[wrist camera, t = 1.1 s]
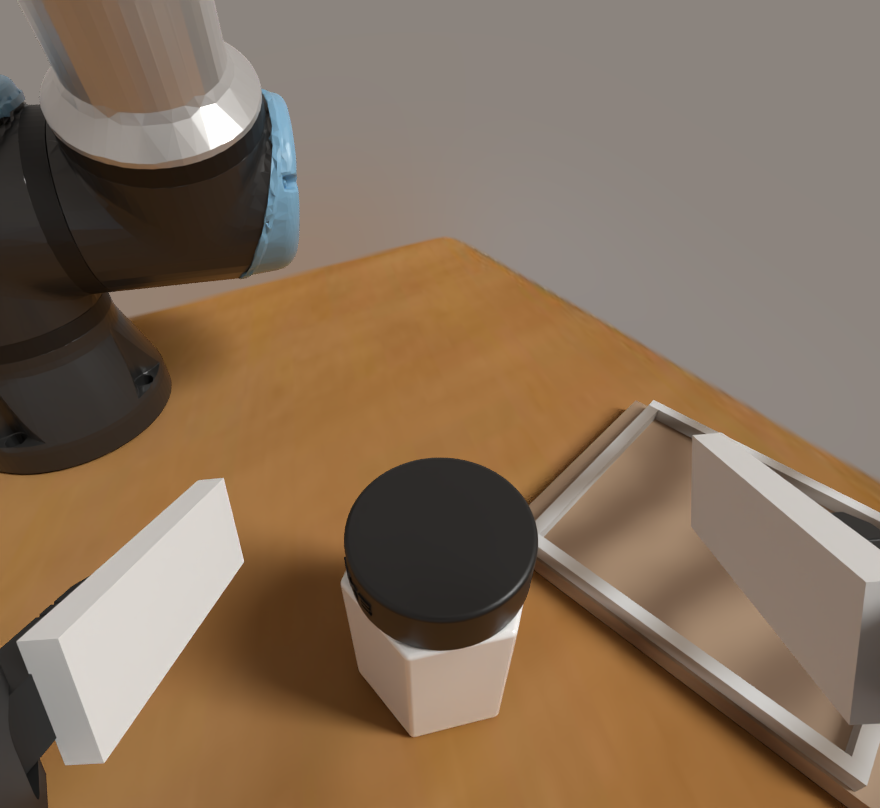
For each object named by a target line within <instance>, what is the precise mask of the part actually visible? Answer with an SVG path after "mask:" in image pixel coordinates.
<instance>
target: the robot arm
mask: <svg viewBox="0 0 880 808" xmlns="http://www.w3.org/2000/svg"><path fill="white" fill-rule="evenodd" d="M17 2H18V4H19V6H20V7H21V10H22V12H23V13H24V15H25V17H26V19H27V21H28V23H29V25H30V27H31V28H32V30H33V32H34V34H35V36H36V38H37V40H38V42H39V44H40V46H41V47H42V49H43V51H44V53H45V55H46V57H47V59H48V61H49V62H50V65H51V66H50V67H49V69H48V71H47V73H46V74H45V76H44V78H43V81H42V84H41V89H40V96H39V98H40V105H28V104H26V103H25V102H24V100H25V97H24V95H23V92H22V91H21V90H19V89H18V88H17V87H16V85H15V84H14V83H13V81H12V80H11V79H9V78H8V77H6V76H4V75H0V471H1V472H7V473H17V474H32V473H43V472H50V471H56V470H61V469H65V468H69V467H73V466H76V465H79V464H82V463H85V462H88V461H91V460H93V459H96V458H98V457H101V456H103V455H105V454H107V453H109V452H111V451H113V450H115V449H117V448H119V447H120V446H122V445H124V444H125V443H127V442H129V441H130V440H132V439H133V438H135V437H136V436H137V435H139V434H140V433H141V432H142V431H144V430H145V429H146V428H147V427H148V426H149V425H150V424H151V423H152V422H153V421H154V420H155V419H156V418H157V417H158V416H159V414H160V413H161V412H162V410H163V409H164V407H165V405H166V403H167V401H168V399H169V396H170V393H171V378H170V375H169V373H168V370H167V368H166V366H165V363H164V361H163V358H162V356H161V355H160V353H159V352H158V350H157V349H156V348H155V347H154V345H153V344H152V343H151V342H150V341H149V340H148V339H147V338H146V337H145V336H144V335H143V334H142V333H141V332H140V331H139V330H138V329H137V328H136V327H135V325H134V324H133V323H132V322H131V321H130V320H129V319H128V318H127V317H126V316H125V315H124V314H123V313H122V312H121V311H120V310H119V309H118V308H117V307H116V306H115V304H114V303H113V301H112V299H111V297H110V295H109V293H108V292H115V291H123V290H133V289H142V288H152V287H161V286H170V285H180V284H189V283H198V282H208V281H216V280H226V279H235V278H239V279H244V278H247V277H249V276H251V275H253V274H258V273H264V272H270V271H275V270H279V269H282V268H284V267H286V266H287V265H289V264H290V263H291V261H292V260H293V258H294V257H295V255H296V252H297V248H298V241H299V193H298V187H297V184H296V180H297V174H296V154H295V146H294V139H293V132H292V126H291V121H290V117H289V113H288V108H287V106H286V103H285V101H284V100H283V98H282V97H281V96H280V95H278V94H276V93H271V92H268V91H266V90H263V89H261V86H260V82H259V78H258V76H257V74H256V72H255V70H254V68H253V67H252V65H251V63H250V62H249V61H248V60H247V59H246V58H245V57H244V55H243V54H241V53H240V52H239V51H238V50H237V49H235V48H234V47H233V46H231V45H229V44H228V43H226V42H225V41H223V37H222V32H221V28H220V24H219V19H218V15H217V11H216V7H215V2H214V0H17ZM691 527H692V528H693V530H694V531H695V532H696V533H697V535H698V536H699V537H700V538H701V540H702V541H703V542H704V543H705V545H706V546H707V547H708V548H709V550H710V551H711V552H712V554H713V555H714V556H715V557H716V559H717V560H718V561H719V562H720V564H721V565H722V566H723V567H724V569H725V570H726V571H727V572H728V574H729V575H730V576H731V577H732V579H733V580H734V581H735V582H736V584H737V585H738V586H739V587H740V589H741V590H742V591H743V592H744V594H745V595H746V596H747V597H748V599H749V600H750V601H751V602H752V604H753V605H754V606H755V607H756V609H757V610H758V611H759V612H760V614H761V615H762V616H763V617H764V619H765V620H766V621H767V623H768V624H769V625H770V626H771V628H772V629H773V630H774V631H775V633H776V634H777V635H778V636H779V638H780V639H781V640H782V641H783V643H784V644H785V645H786V646H787V648H788V649H789V650H790V651H791V653H792V654H793V655H794V656H795V658H796V659H797V660H798V661H799V663H800V664H801V665H802V666H803V668H804V669H805V670H806V671H807V673H808V674H809V675H810V676H811V678H812V679H813V680H814V681H815V683H816V684H817V685H818V686H819V688H820V689H821V690H822V692H823V693H824V694H825V695H826V697H827V698H828V699H829V700H830V702H831V703H832V704H833V705H834V707H835V708H836V709H837V710H838V712H839V713H840V714H841V715H842V717H843V718H844V719H845V720H846V722H847V723H848V724H849V725H862V724H880V529H879V528H877V527H876V526H874V525H873V524H871V523H869V522H867V521H864V520H862V519H859V518H857V517H855V516H852V515H850V514H847V513H845V512H834V513H830V512H828V511H827V510H826V509H824V508H823V507H822V506H820V505H819V504H818V503H816V502H815V501H814V500H812V499H811V498H809V497H808V496H807V495H805V494H804V493H803V492H801V491H800V490H799V489H797V488H796V487H795V486H793V485H792V484H790V483H789V482H788V481H786V480H785V479H784V478H782V477H781V476H780V475H778V474H777V473H776V472H774V471H773V470H772V469H770V468H769V467H767V466H766V465H765V464H763V463H762V462H761V461H759V460H758V459H757V458H755V457H754V456H753V455H751V454H750V453H748V452H747V451H746V450H744V449H743V448H742V447H740V446H739V445H738V444H736V443H735V442H734V441H732V440H731V439H730V438H728V437H727V436H725V435H724V434H723V433H711V434H700V435H692V487H691ZM243 563H244V559H243V555H242V551H241V547H240V543H239V539H238V535H237V530H236V526H235V522H234V518H233V514H232V510H231V506H230V502H229V498H228V494H227V490H226V486H225V482H224V478H218V479H207V480H198V481H197V482H196V483H194V484H193V485H192V486H191V487H190V488H189V489H188V490H187V491H185V492H184V493H183V494H182V495H181V496H180V497H179V498H178V499H176V500H175V501H174V502H173V503H172V504H171V505H170V506H169V507H167V508H166V509H165V510H164V511H163V512H162V513H161V514H159V515H158V516H157V517H156V518H155V519H154V520H153V521H152V522H150V523H149V524H148V525H147V526H146V527H145V528H144V529H143V530H141V531H140V532H139V533H138V534H137V535H136V536H135V537H134V538H132V539H131V540H130V541H129V542H128V543H127V544H126V545H124V546H123V547H122V548H121V549H120V550H119V551H118V552H117V553H115V554H114V555H113V556H112V557H111V558H110V559H109V560H108V561H106V562H105V563H104V564H103V565H102V566H101V567H100V568H99V569H97V570H96V571H95V572H94V573H93V574H92V575H90V576H89V577H87V578H85V579H83V580H82V581H80V582H78V583H77V584H75V585H73V586H72V587H71V588H69V589H68V590H67V591H66V592H65V593H64V594H63V595H61V596H60V597H59V598H58V599H57V600H56V601H54V605H50V606H49V607H48V608H46V609H45V610H44V611H43V612H42V613H41V614H40V617H38V618H35V619H34V620H33V621H32V622H30V623H29V624H28V625H27V626H26V627H25V628H23V629H22V630H21V631H20V632H19V633H18V634H17V635H15V636H14V637H13V638H12V639H11V640H10V641H9V642H7V643H6V644H5V645H4V646H3V647H2V648H1V649H0V808H48V799H47V783H46V773H45V771H44V768H43V766H42V763H41V761H40V757H41V756H42V755H43V754H44V753H45V751H46V750H47V749H48V748H49V747H50V745H51V744H52V743H53V742H54V741H56V743H57V746H58V748H59V751H60V753H61V756H62V758H63V761H64V763H65V765H78V764H98V763H105V761H106V760H107V758H108V757H109V756H110V754H111V753H112V751H113V750H114V748H115V747H116V745H117V744H118V743H119V741H120V740H121V738H122V737H123V735H124V734H125V732H126V731H127V730H128V728H129V727H130V725H131V724H132V722H133V721H134V720H135V718H136V717H137V715H138V714H139V712H140V711H141V709H142V708H143V707H144V705H145V704H146V702H147V701H148V699H149V698H150V697H151V695H152V694H153V692H154V691H155V689H156V688H157V686H158V685H159V684H160V682H161V681H162V679H163V678H164V676H165V675H166V673H167V672H168V671H169V669H170V668H171V666H172V665H173V663H174V662H175V661H176V659H177V658H178V656H179V655H180V653H181V652H182V650H183V649H184V648H185V646H186V645H187V643H188V642H189V640H190V639H191V638H192V636H193V635H194V633H195V632H196V630H197V629H198V627H199V626H200V625H201V623H202V622H203V620H204V619H205V617H206V616H207V614H208V613H209V612H210V610H211V609H212V607H213V606H214V604H215V603H216V602H217V600H218V599H219V597H220V596H221V594H222V593H223V591H224V590H225V589H226V587H227V586H228V584H229V583H230V581H231V580H232V579H233V577H234V576H235V574H236V573H237V571H238V570H239V568H240V567H241V566H242V564H243Z"/></svg>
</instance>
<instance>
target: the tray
mask: <svg viewBox="0 0 880 808" xmlns="http://www.w3.org/2000/svg"><path fill="white" fill-rule="evenodd" d="M711 433H719V432H717V431H715V430H713V429H711V428H709V427H707V426H705V425H703V424H701V423H699V422H697V421H695V420H693V419H691V418H688V417H686V416H684V415H682V414H680V413H678V412H676V411H674V410H672V409H670V408H668V407H666V406H664V405H662V404H660V403H658V402H656V401H654V400H653V401H652V402H651V403H650V404H649V406H646V405H644V404H642V403H640V402H638V401H635V402H634V403H633V404H632V405H631V406H630V407H629V408H627V409H626V410H625V411H624V412H623V413H622V414H621V415H620V416H619V417H618V418H617V419H616V420H615V421H614V422H613V423H612V424H611V425H610V426H609V427H608V428H607V429H606V430H605V431H604V432H603V433H602V434H601V435H600V436H599V437H598V438H597V439H596V440H595V441H594V442H593V443H592V444H591V445H590V446H589V447H588V448H587V449H586V450H585V451H584V452H583V453H582V454H581V455H580V456H579V457H578V458H577V459H576V460H575V461H573V462H572V463H571V464H570V465H569V466H568V467H567V468H566V469H565V470H564V471H563V472H562V473H561V474H560V475H559V476H558V477H557V478H556V479H555V480H554V481H553V482H552V483H551V484H550V485H549V486H548V487H547V488H546V489H545V490H544V491H543V492H542V493H541V494H540V495H539V496H538V497H537V498H536V499H535V500H534V501H533V502H532V503H531V504H530V505H529V507H530V509H531V511H532V513H533V516H534V519H535V522H536V526H537V532H538V553H537V558H536V562H535V567H534V570H535V571H536V572H537V573H539V574H540V575H541V576H543V577H544V578H545V579H547V580H548V581H549V582H551V583H552V584H553V585H554V586H556V587H557V588H558V589H560V590H561V591H562V592H564V593H565V594H566V595H568V596H569V597H570V598H572V599H573V600H574V601H576V602H577V603H578V604H580V605H581V606H582V607H584V608H585V609H586V610H588V611H589V612H590V613H591V614H593V615H594V616H595V617H597V618H598V619H599V620H601V621H602V622H603V623H605V624H606V625H607V626H609V627H610V628H611V629H613V630H614V631H615V632H617V633H618V634H619V635H621V636H622V637H623V638H624V639H626V640H627V641H628V642H630V643H631V644H632V645H634V646H635V647H636V648H638V649H639V650H640V651H642V652H643V653H644V654H646V655H647V656H648V657H650V658H651V659H652V660H654V661H655V662H656V663H657V664H659V665H660V666H661V667H663V668H664V669H665V670H667V671H668V672H669V673H671V674H672V675H673V676H675V677H676V678H677V679H679V680H680V681H681V682H683V683H684V684H685V685H687V686H688V687H689V688H690V689H692V690H693V691H694V692H696V693H697V694H698V695H700V696H701V697H702V698H704V699H705V700H706V701H708V702H709V703H710V704H712V705H713V706H714V707H716V708H717V709H718V710H720V711H721V712H722V713H724V714H725V715H726V716H727V717H729V718H730V719H731V720H733V721H734V722H735V723H737V724H738V725H739V726H741V727H742V728H743V729H745V730H746V731H747V732H749V733H750V734H751V735H753V736H754V737H755V738H757V739H758V740H759V741H760V742H762V743H763V744H764V745H766V746H767V747H768V748H770V749H771V750H772V751H774V752H775V753H776V754H778V755H779V756H780V757H782V758H783V759H784V760H786V761H787V762H788V763H790V764H791V765H792V766H793V767H795V768H796V769H797V770H799V771H800V772H801V773H803V774H804V775H805V776H807V777H808V778H809V779H811V780H812V781H813V782H815V783H816V784H817V785H819V786H820V787H821V788H823V789H824V790H825V791H826V792H828V793H829V794H830V795H832V796H833V797H834V798H836V799H837V800H838V801H840V802H841V803H842V804H844V805H845V806H846V807H848V808H880V724H862V725H849V724H848V723H847V722H846V720H845V719H844V718H843V717H842V715H841V714H840V713H839V712H838V710H837V709H836V708H835V707H834V705H833V704H832V703H831V702H830V700H829V699H828V698H827V697H826V695H825V694H824V693H823V692H822V690H821V689H820V688H819V686H818V685H817V684H816V683H815V681H814V680H813V679H812V678H811V676H810V675H809V674H808V673H807V671H806V670H805V669H804V668H803V666H802V665H801V664H800V663H799V661H798V660H797V659H796V658H795V656H794V655H793V654H792V653H791V651H790V650H789V649H788V648H787V646H786V645H785V644H784V643H783V641H782V640H781V639H780V638H779V636H778V635H777V634H776V633H775V631H774V630H773V629H772V628H771V626H770V625H769V624H768V623H767V621H766V620H765V619H764V617H763V616H762V615H761V614H760V612H759V611H758V610H757V609H756V607H755V606H754V605H753V604H752V602H751V601H750V600H749V599H748V597H747V596H746V595H745V594H744V592H743V591H742V590H741V589H740V587H739V586H738V585H737V584H736V582H735V581H734V580H733V579H732V577H731V576H730V575H729V574H728V572H727V571H726V570H725V569H724V567H723V566H722V565H721V564H720V562H719V561H718V560H717V559H716V557H715V556H714V555H713V554H712V552H711V551H710V550H709V548H708V547H707V546H706V545H705V543H704V542H703V541H702V540H701V538H700V537H699V536H698V535H697V533H696V532H695V531H694V530H693V528H692V527H691V487H692V435H700V434H711ZM728 438H729V437H728ZM730 439H731V438H730ZM731 440H732V441H734V442H735V443H736V444H738V445H739V446H740V447H742V448H743V449H744V450H746V451H747V452H748V453H750V454H751V455H753V456H754V457H755V458H757V459H758V460H759V461H761V462H762V463H763V464H765V465H766V466H767V467H769V468H770V469H772V470H773V471H774V472H776V473H777V474H778V475H780V476H781V477H782V478H784V479H785V480H786V481H788V482H789V483H790V484H792V485H793V486H795V487H796V488H797V489H799V490H800V491H801V492H803V493H804V494H805V495H807V496H808V497H809V498H811V499H812V500H814V501H815V502H816V503H818V504H819V505H820V506H822V507H823V508H824V509H826V510H827V511H828V512H830V513H834V512H845V513H847V514H850V515H852V516H855V517H857V518H859V519H862V520H864V521H867V522H869V523H871V524H873V525H874V526H876V527H877V528H879V529H880V513H879V512H877V511H875V510H873V509H871V508H869V507H867V506H865V505H863V504H861V503H859V502H857V501H855V500H853V499H851V498H849V497H847V496H845V495H843V494H841V493H839V492H837V491H835V490H833V489H831V488H829V487H827V486H825V485H823V484H821V483H819V482H817V481H815V480H813V479H811V478H809V477H807V476H805V475H803V474H801V473H799V472H797V471H795V470H793V469H791V468H789V467H787V466H785V465H783V464H781V463H779V462H777V461H775V460H773V459H771V458H769V457H767V456H765V455H763V454H761V453H759V452H757V451H755V450H753V449H751V448H749V447H747V446H745V445H743V444H741V443H739V442H737V441H735V440H733V439H731Z"/></svg>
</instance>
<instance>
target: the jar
mask: <svg viewBox="0 0 880 808" xmlns="http://www.w3.org/2000/svg"><path fill="white" fill-rule="evenodd" d="M344 549H345V555H346V557H344V560H345V566H346V571H345V573H344V575H343V577H342V580H341V589H342V594H343V598H344V603H345V608H346V613H347V617H348V622H349V627H350V632H351V636H352V641H353V646H354V651H355V656H356V660H357V665H358V670H359V672H360V673H361V674H362V676H363V677H364V678H365V679H366V681H367V682H368V683H369V684H370V686H371V687H372V688H373V689H374V691H375V692H376V693H377V694H378V696H379V697H380V698H381V699H382V701H383V702H384V703H385V704H386V706H387V707H388V708H389V709H390V711H391V712H392V713H393V715H394V716H395V717H396V718H397V720H398V721H399V722H400V723H401V725H402V726H403V727H404V728H405V730H406V731H407V732H408V734H409V735H410V736H412V737H417V736H421V735H425V734H429V733H433V732H437V731H441V730H445V729H448V728H452V727H456V726H460V725H464V724H468V723H472V722H476V721H480V720H484V719H488V718H492V717H495V716H497V715H498V713H499V709H500V705H501V701H502V697H503V692H504V688H505V684H506V680H507V675H508V671H509V667H510V663H511V658H512V654H513V650H514V646H515V641H516V637H517V633H518V628H519V623H520V618H521V613H522V608H523V604H524V602H525V599H526V597H527V594H528V591H529V588H530V583H531V579H532V575H533V571H534V567H535V562H536V558H537V553H538V532H537V526H536V522H535V519H534V516H533V513H532V511H531V509H530V507H529V505H528V504H527V502H526V500H525V499H524V498H523V496H522V495H521V494H520V492H519V491H518V490H517V489H516V488H515V487H514V486H513V485H512V484H511V483H510V482H508V481H507V480H506V479H505V478H503V477H502V476H500V475H499V474H497V473H496V472H494V471H492V470H490V469H488V468H486V467H484V466H481V465H479V464H476V463H473V462H469V461H465V460H460V459H454V458H427V459H420V460H415V461H411V462H408V463H405V464H402V465H399V466H397V467H395V468H392V469H391V470H389V471H387V472H385V473H384V474H382V475H380V476H379V477H378V478H376V479H375V480H374V481H373V482H371V483H370V484H369V485H368V486H367V487H366V488H365V489H364V490H363V491H362V493H361V494H360V495H359V497H358V498H357V499H356V501H355V503H354V504H353V506H352V508H351V510H350V513H349V515H348V518H347V522H346V526H345V533H344Z"/></svg>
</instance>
